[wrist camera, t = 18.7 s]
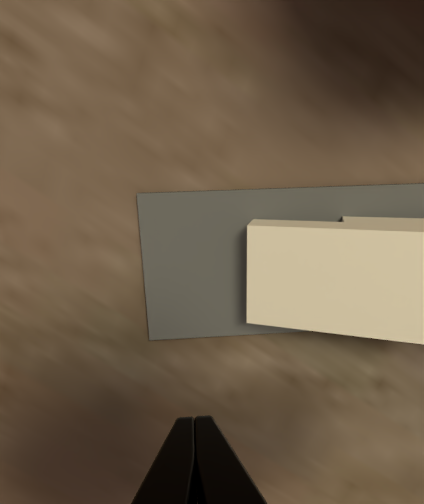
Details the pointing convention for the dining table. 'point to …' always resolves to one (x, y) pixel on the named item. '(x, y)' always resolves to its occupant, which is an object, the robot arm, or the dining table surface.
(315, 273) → the domino
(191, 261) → the domino mat
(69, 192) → the dining table surface
